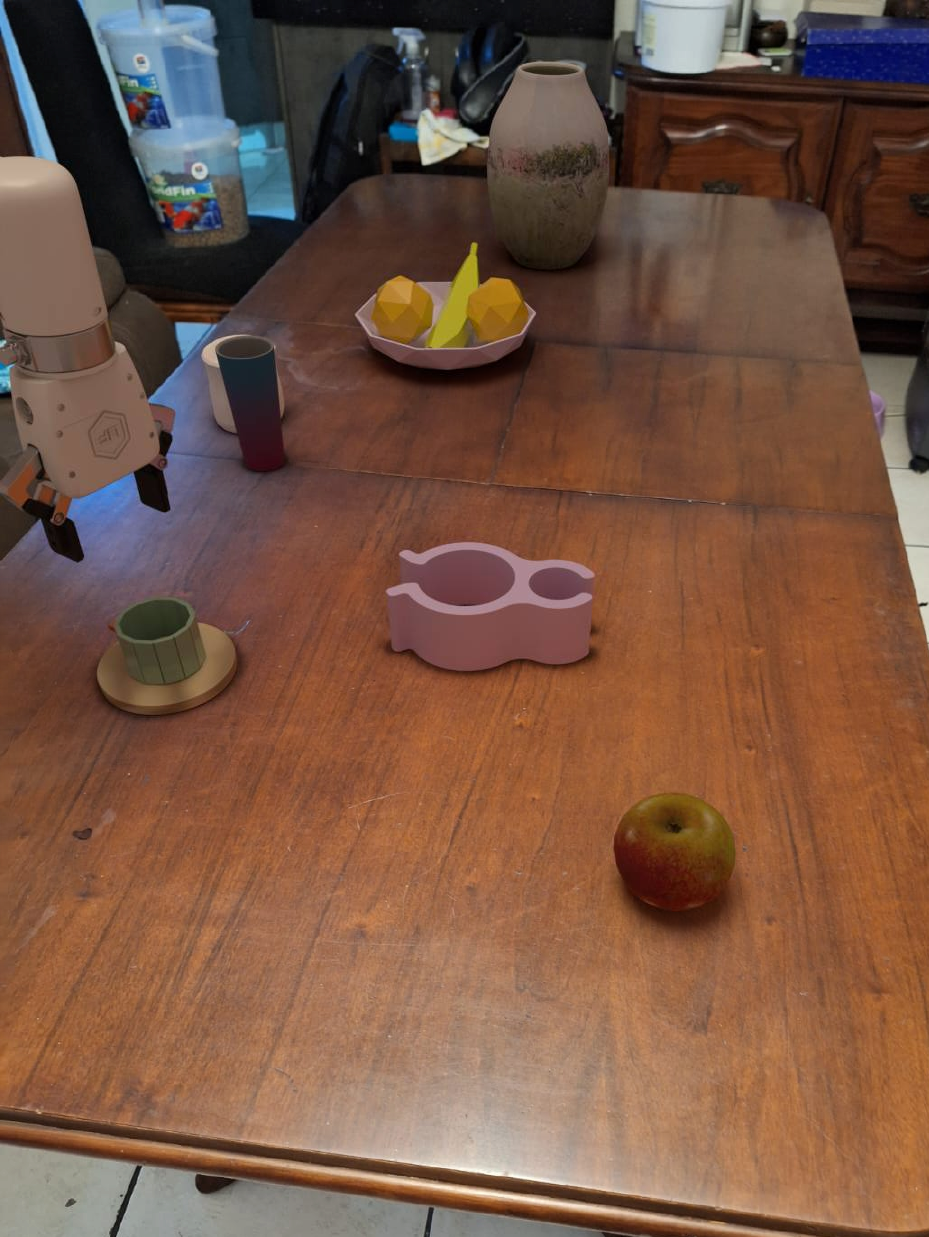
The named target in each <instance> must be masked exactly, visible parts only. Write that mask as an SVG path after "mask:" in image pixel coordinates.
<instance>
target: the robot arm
mask: <svg viewBox="0 0 929 1237" xmlns="http://www.w3.org/2000/svg"><path fill="white" fill-rule="evenodd" d="M85 215H86V214H85V211H84V209H83V203H82V199H81V196H80V192H79V189H78V185H77V183H76V181H75V179H74V176H73V175H72V173H70V171H69V170H68V169H67V168H65V167H64V166H63V165H61V164H60V163H58V162H57V161H54V160H51V159H46V158H44V157H43V158H42V157H36V156H25V155H23V156H21V155H19V156H17V155H16V156H4V157H3V156H0V320H1V323H2V324H1V325H2V327H3V329H2V333H3V336H4V340H5V343H4V344H3V346H0V363H1V365H3V366H4V367H9V366H11V367H10V368H9V384H10V394H11V402H12V408H13V413H14V418H15V424H16V428H17V432H18V437H19V441H20V445H21V448H22V451H23V452H22V454H20V456H19V457H18V458H17V460H15V462H14V463H13V465H12V466H11V467H10V468H9V470H8V471H7V472H6V474H5V475H4V476H3V477H2V478H1V480H0V495H1V496H3V498H5V499H6V500H7V501H8V502H10V503H11V504H12V505H13V506H14V507H15V509H17V510H18V511H19V510H20V511H21V512H24V513H26V514H28V515H30V516H33V517H35V518H38V519H40V522H41V524H42V527H43V530H44V534H45V537H46V540H47V542H48V545H49V548H50V549H51V550H52V551H53V552H54V553H55V554H57V555H60V556H62V557H64V558H67V559H68V560H70V561H73V562H75V563H77V564H79V563H80V562H82V561H84V559H85V553H84V550H83V547H82V543H81V541H80V537H79V533H78V531H77V527H76V524H75V522H74V521H73V519H71V518H70V517H67V515H68V512H69V509H70V507H71V504H72V501H73V499H74V500H76V499H77V500H78V499H82V498H86V497H87V496H91V495H92V494H94V493H96V492H98V491H100V490H102V489H104V488H106V487H108V486H110V485H112V484H113V483H115V482H118V481H119V480H121V479H123V478H125V477H127V476H129V475H130V474H133V477H134V480H135V484H136V488H137V492H138V496H139V500H140V503H141V504H142V505H145V506H147V507H149V508H151V509H154V510H156V511H159V512H161V513H164V514H166V513H168V512H170V511H171V509H172V508H171V504H170V500H169V491H168V486H167V483H166V478H165V473H164V471H165V469H166V468H168V464H169V462H168V461H169V460H168V459H167V456H168V453H169V451H170V448H171V446H172V443H173V441H174V438H173V435H172V432H173V430H174V424H175V418H176V411H175V409H174V408H171V407H169V406H166V405H163V404H160V403H153V402H152V403H151V402H149V401H148V397H147V395H146V392H145V388H144V386H143V383H142V381H141V378H140V376H139V373H138V371H137V369H136V366H135V364H134V362H133V359H132V358H131V356H130V354H129V352H128V351H127V348H126V346H125V345H124V344H122V343H120V342H118V341H115V336H114V333H113V328H112V325H111V320H110V315H109V312H108V309H107V305H106V304H107V303H106V301H105V296H104V292H103V288H102V284H101V279H100V278H101V277H100V274H99V270H98V266H97V262H96V257H95V254H94V249H93V245H92V241H91V237H90V233H89V232H90V231H89V229H88V224H87V219H86V216H85ZM33 481H34V482H35V483H37V487H36V489H35V492H34V495H33V497H32V496H31V494H29V492H28V487H29V485H30V484H31V483H32V482H33ZM54 492H56V493H55V496H54V499H53V501H52V497H53V495H54ZM51 501H52V505H50V503H51Z"/></svg>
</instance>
